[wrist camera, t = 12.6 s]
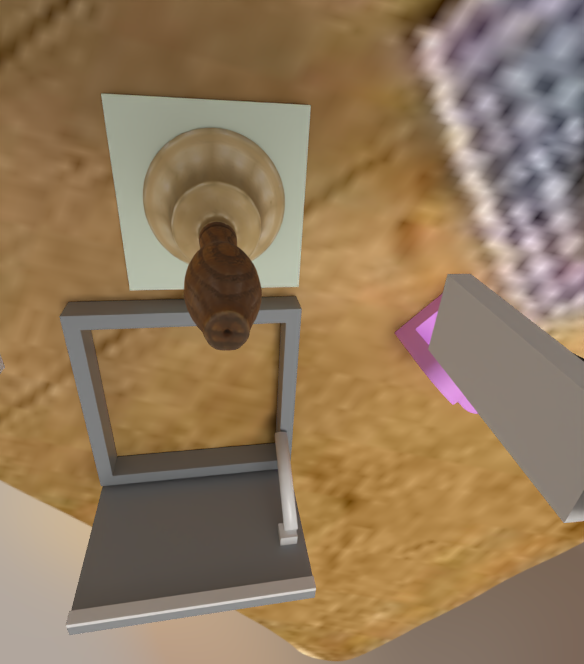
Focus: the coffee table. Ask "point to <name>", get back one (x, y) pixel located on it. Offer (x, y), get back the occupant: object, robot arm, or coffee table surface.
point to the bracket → (417, 343)
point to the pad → (182, 116)
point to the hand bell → (216, 224)
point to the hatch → (186, 497)
